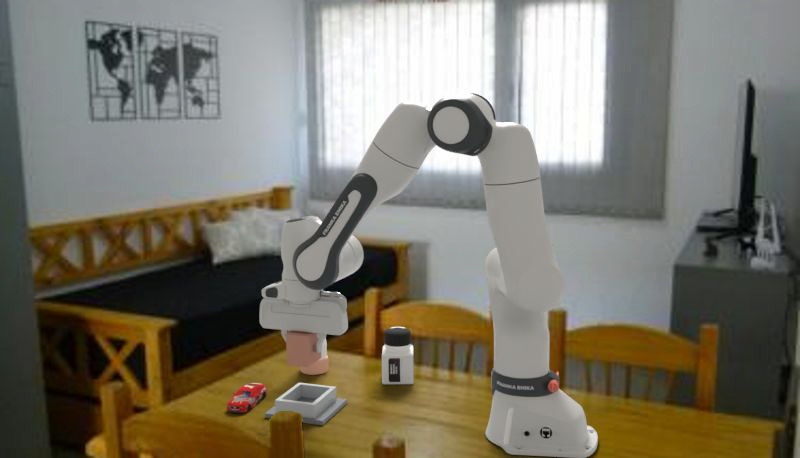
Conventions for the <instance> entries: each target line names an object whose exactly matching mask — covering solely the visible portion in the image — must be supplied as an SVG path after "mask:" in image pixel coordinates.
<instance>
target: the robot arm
mask: <svg viewBox="0 0 800 458" xmlns="http://www.w3.org/2000/svg"><path fill="white" fill-rule="evenodd" d="M436 146H437V147H438V148H439V149H442V150H444V151H447V152H450V153H454V154H460V155H465V156H470V157H477V158H478V160H479V162H480V167H481V172H482V173H481V174H482V182H483V183H482V184H483V189H484V190H483V192H484V198H485V199H484V200H485V206H486V209H485V210H486V216H487V223H488V226H489V229H490V230H491V234H492V237H493V240H494V242H495V243H494V244H495V247H494V248H493V249H492V250H490V252H489V253H488V254H487V256H486V259H485V261H484V272H485V275H486V279H487V285H488V297H489V303H490V304H489V305H490V306H489V307H490V311H491V312H490V313H491V318H492V324H493V366H492V369H491V375H490V389H491V395H492V398H491V399H492V401H491V409H490V414H489V419H488V423H487V426H486V430H485V437H486V439H488V440H489V441H490V442H491V443H492V444H495V445H496V446H499V447H500V448H502V449H503V450H504V452H505V453H507V454H508V455H513V456H515V455H516V456H534V457H535V456H536V457H554V458H556V457H557V458H587V457H590V456H592V455H593V454H594V453H595V452H596V450H597V448H598V444H599V437H598V432H597V431H596V430H595V428H593V426H591V425H588V424H587V419H586V414H585V411H584V409H583V407H582V406H581V405H580V404H579V402H577V401H575V400H574V399H573V398H572V397H570V396H569V395H567V393H565V392H564V391H563V390H562V389H560V376H559V375H560V373H559V371H558V370H557V371H556V373H555V372H554V371H553V370H551V369H550V339H551V337H550V335H551V334H550V330H549V327H548V324H547V320H546V317H545V312H548V311H551V310H553V309H554V308H556V306H558V305H559V304H560V303H561V301H562V299H563V298H564V295H565V292H566V281H565V277H564V275H563V273H562V270H561V269H560V266H559V263H558V260H557V256H556V252H555V249H554V245H553V242H552V241H553V240H552V237H551V234H550V232H549V228H548V223H547V219H546V214H545V207H544V205H545V204H544V198H543V191H542V190H543V188H542V179H541V178H542V177H541V171H540V164H539V158H538V154H537V150H536V146H535V142H534V139H533V136H532V134H531V131H530V129H528V128H527V126H525V125H523V124H521V123H517V122H514V121H513V122H512V121H510V122H509V121H508V122H500V121H499V122H498V121H497V119H496V112H495V110H494V107H493V105H492V104H491V102H490V101H489V100H488V99H487V98H485V97H484V96H482V95H479V93H478V94H477V93H474V92H473V93H472V92H471V93H470V92H457V93H456V92H455V93H453V94H450V95H446V96H445V97H444V96H443V97H442V98H440V99H439V100H437V102H436V103H434V105H433V106H432V107H429V106H428V105H425V104H424V103H422V102H420V101H415V100H407V101H403V102H400V103H398V105H397V106H396V107H395V108H394V109H393V111H392V112H391V113H390V114H389V115H388V117H387V118H386V119H385V120H384V122H383V123H382V125H381V126H380V128H379V129H378V131H377V133H375V136H374V137H373V139H372V141H371V143H370V145H369V147H368V148H367V150H366V152H365V154H364V155H363V157H362V159H361V161H360V163H359V164H358V167H357V168H356V169H355V171H354V173H353V174H352V176H351V178H350V179H349V181H348V182H347V184H346V185H345V188H343V190H342V191H341V193H340V194H339V195H338V197H337V199H336V200H335V201H334V204H333V205H332V206H331V208H330V210H329V211H328V213H327V214H326V216H325V218H323V221H322V219H321V218H320V217H318V216H316V215H304V216H300V217H294V218H291V219H288V220H286V222H285V223H284V224H283V227H282V230H281V231H282V232H281V239H280V240H281V241H280V246H281V247H280V252H281V253H280V254H281V256H280V257H281V261H282V264H283V265H282V266H283V269H282V272H281V280H279V281H276V282H274V283H270V284H269V285H266V286H265V287H263V288H262V289H261V296H262V299H261V301H260V303H259V317H258V318H259V324H260V326H261V327H262V328H263V329H270V330H278V331H279V330H280V333H281V336H282V338H283V340H284V341H285V343H286V334H288V333H289V332H291V331H299V332H309V333H317V338H319V340H318V342H317V343H315V344H313V352H318V353H320V352H321V351H322V343H323V341H324V339H325V338H327V335H330V336H331V335H332V336H341V335H343V334H344V333H346V331H348V329H349V321H348V312H347V308H348V300H347V298H346V296H344V295H343V294H341V292H338V291H326V290H325V289H326V288H328V287H330V286H331V285H333V284H334V283H336V282H338V281H340V280H342V279H345V278H347V277H349V276H350V275H353V274H354V273H356V272H357V271H359V270H360V268H361V267H362V265H363V263H364V259H365V252H364V251H365V250H364V247H363V244H362V243H361V241H360V240H359V238H358V237H356V235H353V234H354V233H355V231H356V230H357V228H358V227H359V225H360V224H361V222H362V221H363V219H364V218H365V217H366V216H367V215H368V214H369V213H370V212H371V211H372V210H374V209H375V208H377V207H378V206H380V205H381V204H383V203H385V202H387V201H388V200H391V199H392V198H395V197H396V196H398V195H399V194H401V193H402V192H403V191H404V190H405V189H406V188H407V186H409V184H410V183H411V182H412V180H413V179H414V178H415V177H416V175H417V173H418V172H419V170H420V169H421V167H422V165H423V163H424V162H425V160H426V158H427V157H428V155H429V153H431V151H432V150H433V149H434V148H435V147H436ZM285 346H286V349H287V343H286V344H285Z"/></svg>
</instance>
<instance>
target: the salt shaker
mask: <svg viewBox="0 0 800 458" xmlns="http://www.w3.org/2000/svg"><path fill="white" fill-rule="evenodd" d="M326 338H327V337H326ZM326 338H325V339H324V341H323V343H322V351H321V359H319V360H318V361H316V362H315V363H314V364H312V365H311V366H309V367H308V368H306V367H299V368H300V372H301V373H302V374H305V375H312V376H314V375H322V374H325V373H327V372H328V371H329V356H328V350H327V347H328V346H327V345H328V344H327V339H326Z"/></svg>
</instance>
